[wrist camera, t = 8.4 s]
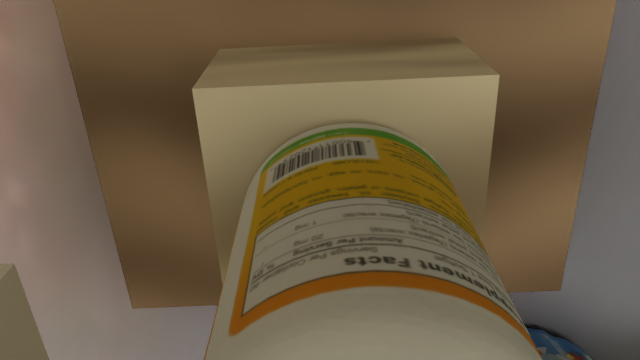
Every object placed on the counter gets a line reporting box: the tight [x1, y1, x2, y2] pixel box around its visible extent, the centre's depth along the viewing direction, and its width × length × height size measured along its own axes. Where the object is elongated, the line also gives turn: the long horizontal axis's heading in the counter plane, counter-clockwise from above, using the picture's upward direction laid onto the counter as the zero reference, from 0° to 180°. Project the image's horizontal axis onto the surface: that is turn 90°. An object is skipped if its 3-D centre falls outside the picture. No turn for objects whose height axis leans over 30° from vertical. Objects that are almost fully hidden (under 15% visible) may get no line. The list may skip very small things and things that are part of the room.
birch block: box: [192, 38, 500, 285], centre depth 15 cm, size 7×7×4 cm
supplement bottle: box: [204, 123, 542, 360], centre depth 9 cm, size 5×5×10 cm
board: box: [53, 0, 617, 309], centre depth 17 cm, size 14×16×1 cm
